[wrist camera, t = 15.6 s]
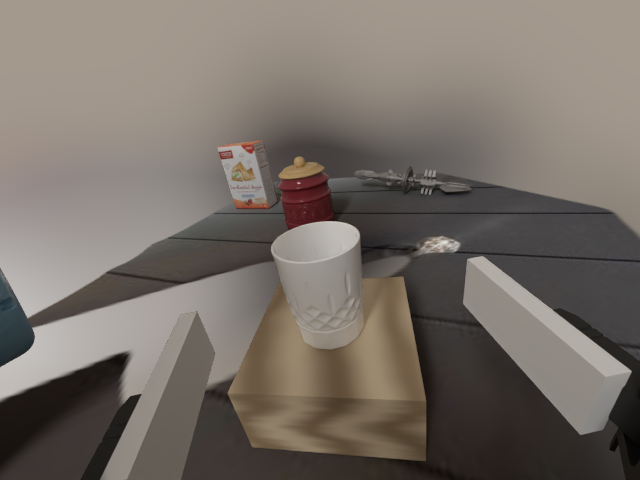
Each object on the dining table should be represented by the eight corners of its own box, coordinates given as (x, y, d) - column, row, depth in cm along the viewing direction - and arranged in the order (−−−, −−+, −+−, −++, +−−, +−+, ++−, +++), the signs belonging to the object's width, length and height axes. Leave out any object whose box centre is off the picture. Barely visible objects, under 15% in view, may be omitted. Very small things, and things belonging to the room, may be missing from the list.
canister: (310, 239, 68) (295, 164, 60) (277, 229, 76) (261, 163, 69) (345, 218, 75) (336, 150, 68) (311, 212, 84) (300, 150, 76)
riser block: (252, 447, 28) (227, 393, 24) (291, 327, 42) (279, 282, 38) (426, 461, 24) (426, 401, 21) (405, 326, 38) (403, 276, 35)
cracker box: (235, 209, 99) (216, 147, 90) (245, 203, 104) (228, 143, 94) (269, 209, 93) (252, 142, 84) (278, 202, 98) (263, 139, 89)
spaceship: (361, 162, 96) (350, 159, 89) (477, 173, 78) (474, 170, 71) (357, 186, 97) (346, 184, 91) (470, 202, 79) (466, 201, 73)
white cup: (356, 293, 33) (345, 214, 29) (381, 342, 26) (373, 248, 22) (290, 310, 33) (269, 232, 28) (298, 365, 26) (272, 272, 21)
